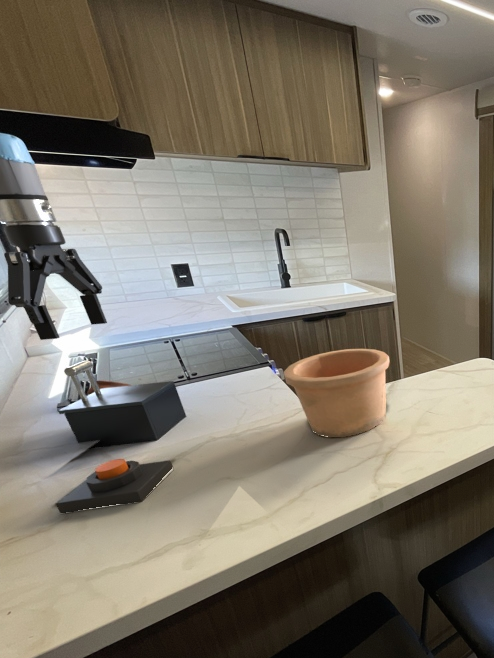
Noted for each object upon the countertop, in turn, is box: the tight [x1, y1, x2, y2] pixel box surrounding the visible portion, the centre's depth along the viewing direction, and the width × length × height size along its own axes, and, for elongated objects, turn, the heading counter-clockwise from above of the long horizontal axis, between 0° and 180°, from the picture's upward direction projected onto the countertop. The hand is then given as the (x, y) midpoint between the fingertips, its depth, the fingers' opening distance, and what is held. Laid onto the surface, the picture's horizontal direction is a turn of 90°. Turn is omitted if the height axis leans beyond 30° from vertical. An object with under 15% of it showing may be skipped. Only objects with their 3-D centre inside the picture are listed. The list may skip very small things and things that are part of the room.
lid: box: [57, 360, 175, 415], centre depth 89 cm, size 15×13×9 cm
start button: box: [94, 458, 129, 480], centre depth 70 cm, size 4×4×2 cm
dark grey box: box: [63, 383, 187, 450], centre depth 92 cm, size 15×13×9 cm
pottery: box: [283, 348, 390, 438], centre depth 91 cm, size 22×22×14 cm
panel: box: [54, 460, 174, 514], centre depth 71 cm, size 12×10×4 cm
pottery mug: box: [86, 380, 131, 396], centre depth 109 cm, size 12×10×8 cm
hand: (76, 330), depth 86 cm, fingers open, 13 cm apart
